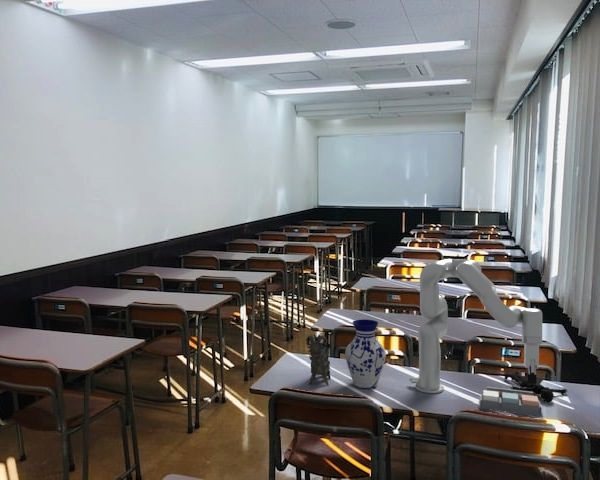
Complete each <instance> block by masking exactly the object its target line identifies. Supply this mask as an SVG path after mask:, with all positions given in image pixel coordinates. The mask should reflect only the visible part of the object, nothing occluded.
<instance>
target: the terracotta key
mask: <svg viewBox="0 0 600 480" xmlns="http://www.w3.org/2000/svg"><path fill="white" fill-rule="evenodd" d="M538 400H539V398H538V395H533V396H531V395H522V397H521V402H522V405H528V406H536V407H538V404H539V401H538Z"/></svg>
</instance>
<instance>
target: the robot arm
mask: <svg viewBox="0 0 600 480" xmlns="http://www.w3.org/2000/svg"><path fill="white" fill-rule="evenodd" d="M447 278H458V279H459V280H460V281H461V282H462V283H463V284H464V285H465V286H466V287H467V288H468V289H470V291H471V292H473V294H474V295H475V296H476V297H478V299H479V300H480V303H481V304H482V305H483V307H484V309H485V310H486V312H488V313H489V315H490V316H491V317H492V318H494V320H495V321H496V322H497V323H498V324H500V325H501V326H502V327H505V328H509V329H510V328H514V327H516V326H517V325H519V324H521V342H522V344H524V346H523V347H524V348H523V365H524V368H525V369H527V373H526V374H527V381H528V383H529V384H536V379H537V369H539V362H540V360H539V359H540V345H542V344H543V312H542V310H541V309H540V308H534V307H533V308H531V307H528V308H527V307H523V306H519V305H510V306H508V305H506V304H505V303H504V302H503V300H501V297H500V296H499V295H498V293H497V287H496V286H495V284H494V282H492V281H491V280H490V279H489V278H488V277H487V276H486V275H485V274H484V273H483V272H482V266H481V264H480V263H479V262H478V261H476V260H473V259H457V258H456V259H455V258H444V259H441V260H436V261H434V262H431V263H429V264H427V265H426V266H424V268H422V270H421V271H420V275H419V310H420V311H419V312H420V314H421V315H422V317H423V318H425V319H427V320H426V321H424V322H423V323H421V324H420V325H419V327H418V329H417V340H418V354H419V356H418V359H419V360H418V364H419V365H418V377H417V376H416V377H413V376H412V377H411V376H410V377H409V379H408V380H409V382H411V384H415V389H416V390H417V391H419V392H422V393H426V394H439V393H441V392H443V391H444V389H445V388H444V385H443V384H441V357H442V356H441V353H442V352H441V345H440V339H441V338H442V337H444V336H445V335H446V334H447V332H448V326H449V324H448V323H449V321H448V320H449V317H448V315H449V314H448V309H449V308H448V304H447V303H448V302H447V300H446V299H445V297H443V296H442V295H440V286H439V282H440V281H442V280H445V279H447Z"/></svg>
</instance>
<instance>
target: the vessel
mask: <svg viewBox="0 0 600 480" xmlns="http://www.w3.org/2000/svg"><path fill="white" fill-rule="evenodd" d="M305 340H306V346H307V348H308V349H309V350H308V353H310V355H308V358H309V360H310V374H311V376H310V379H309V382H308V385H311V384H312V383H313V382H314V380H315V378H316V377H319V376H320V375H322V376H321V377H322V380H323V381H324V383H325V385H327V386H328V385H329V381H328V380H329V379H331V378H332V377H331V371H330V370H331V366H330V365H331V363H330V360H329V348H331V346H332V344H331V343H328V339H327V337H326V336H324V335H321V334H319V333H318V335H317V336H316V334H315V333H314V334H313V335H309V336H307V338H305ZM328 378H329V379H328ZM329 386H330V385H329Z"/></svg>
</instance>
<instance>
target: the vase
mask: <svg viewBox="0 0 600 480" xmlns="http://www.w3.org/2000/svg"><path fill="white" fill-rule="evenodd" d="M352 324H353V327H354V329H355V337H354V338H353V340H351V342H350V343H349V344H348V345H347V347H346V349H345V351H344V355H345V360H346V364H347V368H348V371H349V373H350V376H351V380H352V382H353V386H354V388H355V387H356V388H358V389H361V390H372V389H375V388H376V387H377V386H378V384H379V380H380V377H381V375H382V371H383V369H384V365H385V363H386V358H387V352H386V349H385V347H384V346H383V345H382V344H381V342H380V341H379V340H378V339H377V337H376V335H375V334H376V328H378V325H379V322H378V321H377V320H373V319H355V320H353V321H352Z"/></svg>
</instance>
